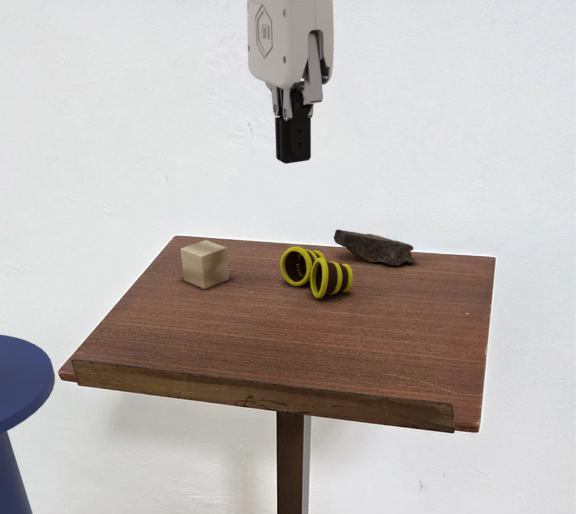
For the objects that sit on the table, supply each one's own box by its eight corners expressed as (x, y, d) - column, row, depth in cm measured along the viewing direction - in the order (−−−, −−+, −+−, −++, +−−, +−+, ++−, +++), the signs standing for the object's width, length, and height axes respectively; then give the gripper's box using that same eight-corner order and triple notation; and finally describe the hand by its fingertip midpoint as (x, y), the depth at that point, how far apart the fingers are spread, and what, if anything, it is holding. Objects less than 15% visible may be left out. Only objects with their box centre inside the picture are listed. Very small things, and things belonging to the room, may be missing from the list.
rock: (412, 276, 108) (427, 245, 104) (391, 291, 103) (406, 260, 100) (346, 233, 110) (358, 202, 106) (323, 246, 106) (335, 214, 102)
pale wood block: (204, 289, 99) (201, 256, 96) (183, 280, 101) (180, 248, 99) (229, 279, 101) (226, 247, 99) (208, 271, 104) (205, 239, 101)
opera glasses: (352, 301, 97) (359, 262, 94) (320, 304, 94) (327, 264, 91) (307, 278, 103) (313, 241, 100) (276, 280, 100) (281, 242, 97)
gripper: (219, -66, 69) (232, 149, 81) (287, -63, 58) (291, 184, 70) (292, -69, 71) (295, 140, 83) (370, -66, 61) (361, 173, 72)
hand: (293, 159), depth 76 cm, fingers closed
